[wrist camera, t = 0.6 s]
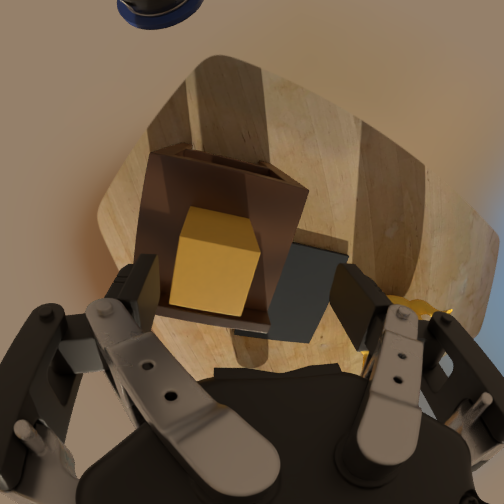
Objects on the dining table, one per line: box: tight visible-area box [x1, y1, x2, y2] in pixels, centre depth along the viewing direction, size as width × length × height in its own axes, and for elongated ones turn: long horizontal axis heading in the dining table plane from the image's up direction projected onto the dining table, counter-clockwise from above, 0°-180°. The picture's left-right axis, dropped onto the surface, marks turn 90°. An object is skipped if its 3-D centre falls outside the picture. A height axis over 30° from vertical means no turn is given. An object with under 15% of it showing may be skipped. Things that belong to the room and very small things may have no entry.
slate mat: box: [234, 242, 349, 343], centre depth 45 cm, size 18×14×1 cm
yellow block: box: [169, 206, 261, 316], centre depth 19 cm, size 4×4×6 cm
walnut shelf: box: [133, 142, 309, 333], centre depth 28 cm, size 12×12×19 cm
